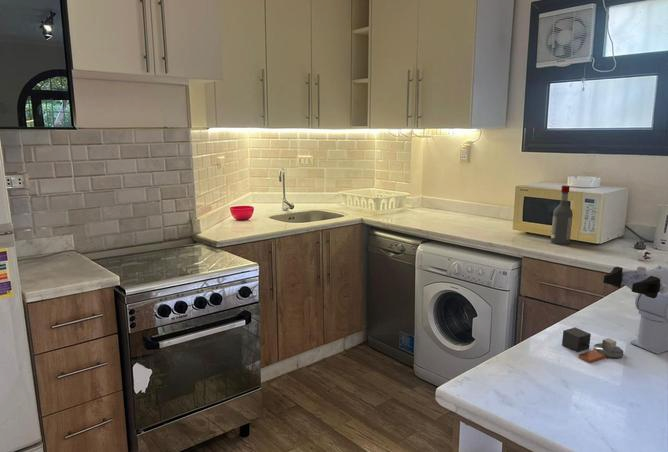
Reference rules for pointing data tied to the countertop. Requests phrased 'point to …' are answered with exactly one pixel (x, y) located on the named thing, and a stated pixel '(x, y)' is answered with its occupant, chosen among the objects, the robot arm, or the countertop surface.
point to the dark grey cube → (576, 339)
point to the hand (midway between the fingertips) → (618, 283)
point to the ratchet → (602, 351)
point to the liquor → (562, 220)
